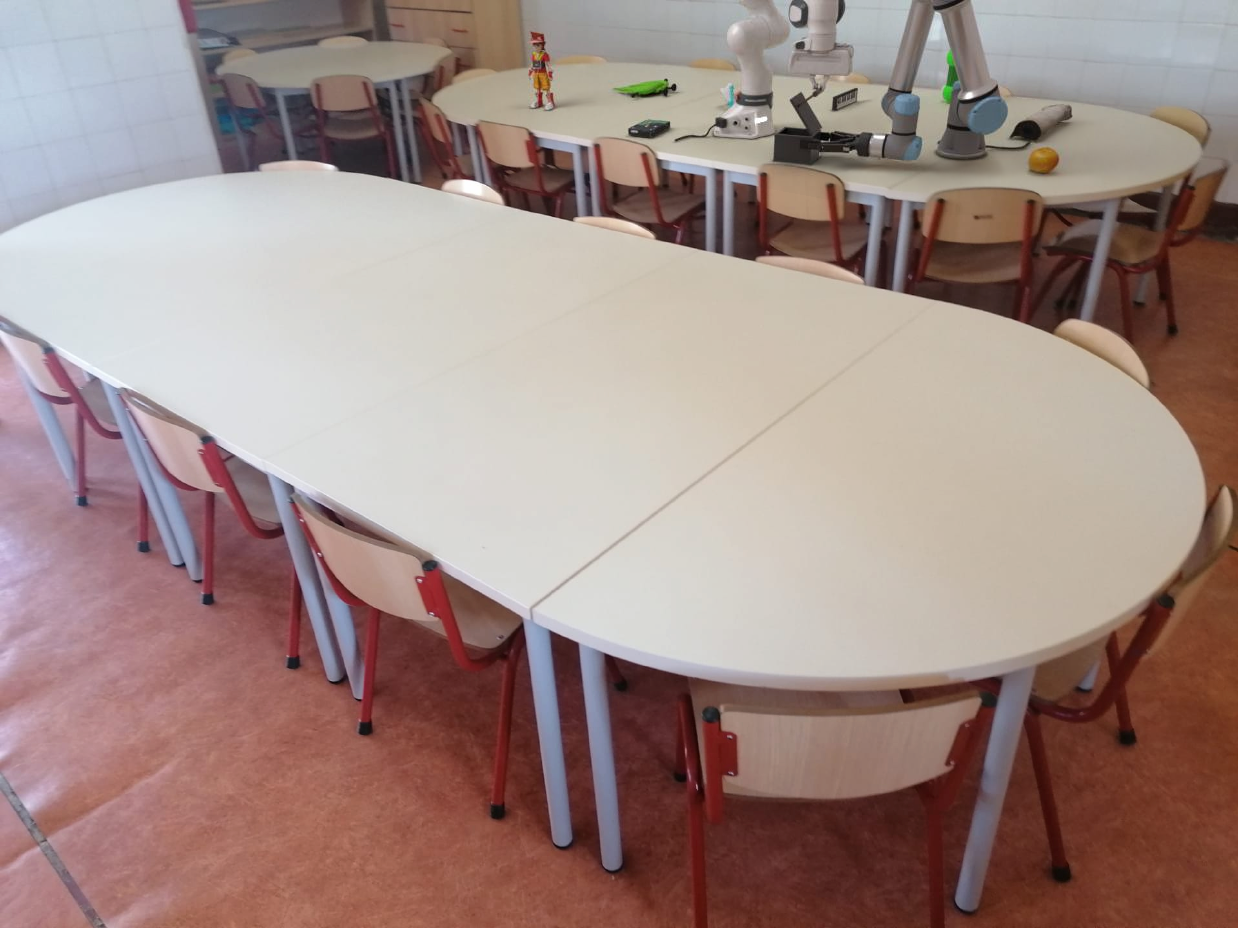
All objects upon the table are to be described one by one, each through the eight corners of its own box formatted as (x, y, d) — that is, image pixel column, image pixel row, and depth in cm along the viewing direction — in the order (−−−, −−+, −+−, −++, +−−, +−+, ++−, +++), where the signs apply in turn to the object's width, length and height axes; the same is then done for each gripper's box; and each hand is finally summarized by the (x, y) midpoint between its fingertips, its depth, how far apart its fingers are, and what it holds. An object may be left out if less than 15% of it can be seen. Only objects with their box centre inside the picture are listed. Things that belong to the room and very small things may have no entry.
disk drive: (651, 138, 334) (670, 128, 344) (651, 131, 332) (670, 120, 342) (627, 136, 339) (647, 125, 349) (627, 128, 337) (647, 118, 347)
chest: (773, 161, 303) (774, 134, 298) (783, 153, 310) (784, 126, 305) (809, 165, 298) (811, 137, 293) (819, 156, 305) (821, 129, 300)
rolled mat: (1039, 109, 327) (1064, 92, 319) (1053, 130, 328) (1078, 113, 320) (1005, 132, 310) (1030, 114, 302) (1020, 154, 310) (1045, 137, 302)
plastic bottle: (973, 101, 354) (984, 32, 339) (955, 106, 349) (966, 36, 335) (952, 97, 361) (962, 29, 346) (934, 102, 356) (944, 33, 342)
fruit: (1023, 163, 276) (1041, 139, 273) (1022, 165, 284) (1039, 142, 281) (1047, 178, 275) (1065, 155, 272) (1044, 180, 283) (1062, 157, 280)
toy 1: (525, 109, 381) (517, 32, 364) (534, 104, 388) (527, 28, 371) (550, 110, 377) (543, 32, 360) (559, 105, 384) (553, 28, 367)
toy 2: (686, 85, 398) (631, 84, 414) (685, 72, 395) (629, 72, 411) (651, 104, 381) (596, 103, 397) (650, 92, 378) (594, 91, 394)
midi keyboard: (834, 110, 353) (835, 97, 350) (831, 110, 354) (832, 97, 351) (857, 101, 364) (858, 88, 361) (854, 101, 364) (855, 88, 361)
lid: (789, 100, 290) (810, 85, 284) (799, 93, 297) (820, 78, 291) (810, 136, 293) (832, 122, 287) (820, 129, 300) (841, 114, 294)
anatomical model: (716, 82, 367) (740, 75, 367) (721, 107, 373) (744, 101, 372) (722, 90, 355) (747, 83, 354) (727, 117, 361) (751, 110, 360)
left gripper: (857, 41, 279) (853, 88, 286) (794, 40, 287) (792, 86, 295) (851, 45, 274) (847, 93, 282) (787, 44, 283) (785, 90, 291)
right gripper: (860, 166, 284) (793, 160, 293) (879, 147, 300) (815, 142, 309) (863, 142, 280) (794, 137, 289) (882, 124, 296) (816, 119, 305)
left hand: (818, 89), depth 289 cm, fingers closed, pressing on lid
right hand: (805, 139), depth 299 cm, fingers closed on chest, 10 cm apart
